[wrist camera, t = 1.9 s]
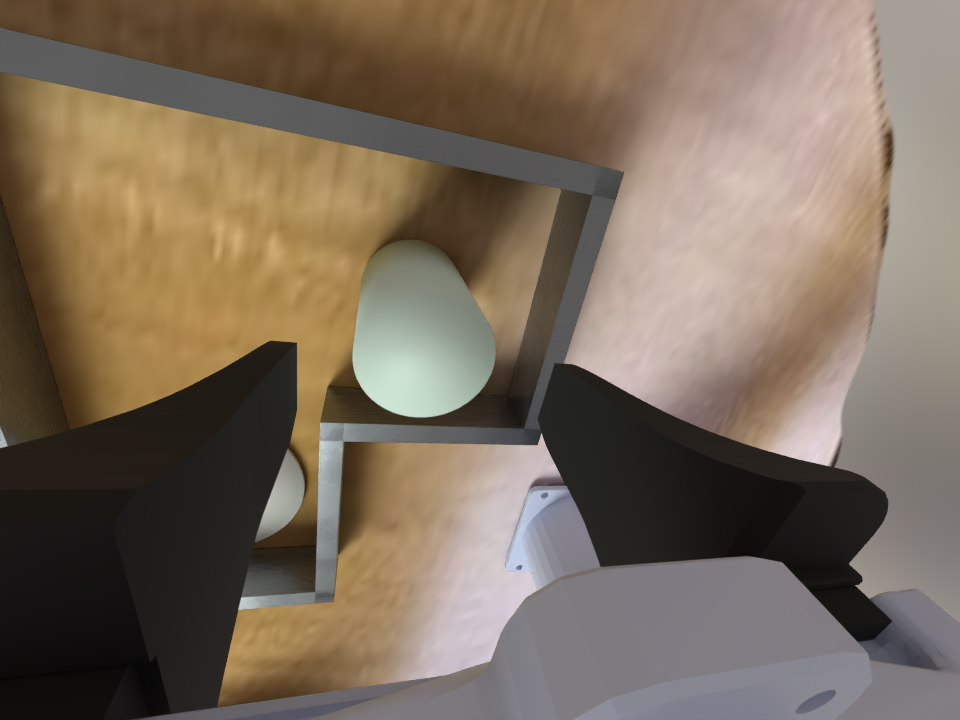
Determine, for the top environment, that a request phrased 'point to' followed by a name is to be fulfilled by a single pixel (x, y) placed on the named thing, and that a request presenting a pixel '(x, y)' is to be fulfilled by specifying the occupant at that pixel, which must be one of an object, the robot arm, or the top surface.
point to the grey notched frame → (347, 411)
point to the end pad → (283, 497)
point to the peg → (419, 332)
